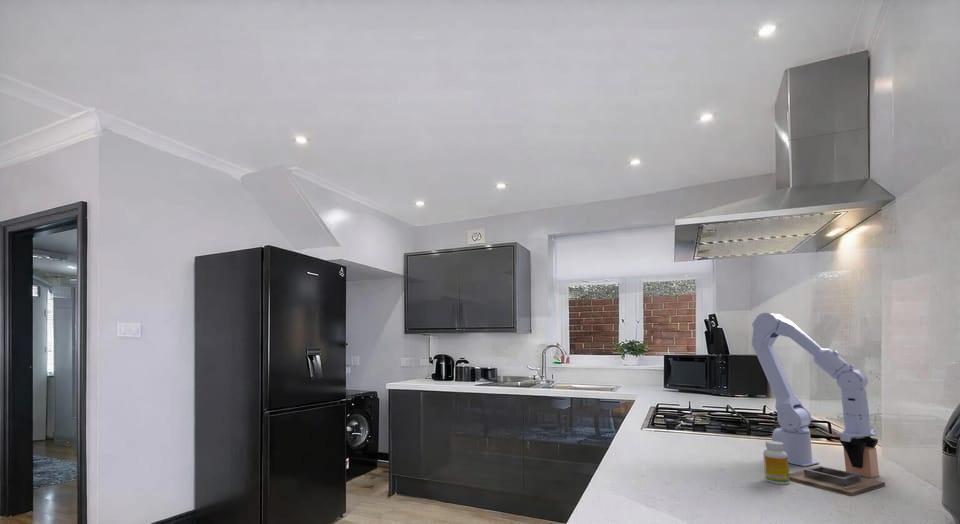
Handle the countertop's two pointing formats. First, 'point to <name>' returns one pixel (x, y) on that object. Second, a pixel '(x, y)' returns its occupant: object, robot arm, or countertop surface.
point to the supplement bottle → (776, 463)
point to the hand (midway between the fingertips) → (861, 466)
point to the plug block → (864, 463)
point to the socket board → (835, 480)
